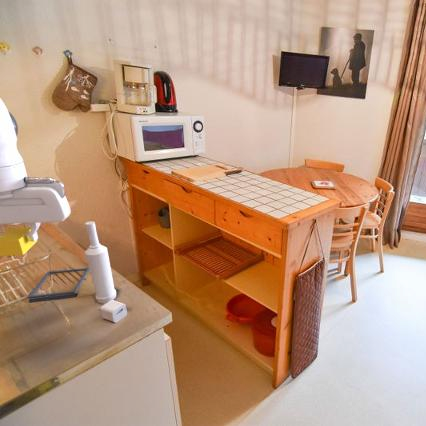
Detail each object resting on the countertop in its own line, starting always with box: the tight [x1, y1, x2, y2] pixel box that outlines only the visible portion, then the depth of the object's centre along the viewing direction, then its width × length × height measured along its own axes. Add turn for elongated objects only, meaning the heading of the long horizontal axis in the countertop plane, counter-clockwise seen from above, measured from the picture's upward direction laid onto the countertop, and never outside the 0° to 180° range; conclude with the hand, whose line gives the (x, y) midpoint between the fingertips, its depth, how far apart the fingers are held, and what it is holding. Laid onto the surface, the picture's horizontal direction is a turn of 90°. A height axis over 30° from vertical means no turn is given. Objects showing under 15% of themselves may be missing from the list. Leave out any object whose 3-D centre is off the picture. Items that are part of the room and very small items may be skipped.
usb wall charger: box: [96, 299, 128, 323], centre depth 88 cm, size 4×7×4 cm, turn 71°
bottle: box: [84, 221, 117, 305], centre depth 90 cm, size 5×5×25 cm
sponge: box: [0, 226, 38, 257], centre depth 66 cm, size 6×4×4 cm, turn 18°
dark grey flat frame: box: [27, 267, 90, 304], centre depth 98 cm, size 11×13×2 cm
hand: (16, 241), depth 66 cm, fingers closed on sponge, 4 cm apart
